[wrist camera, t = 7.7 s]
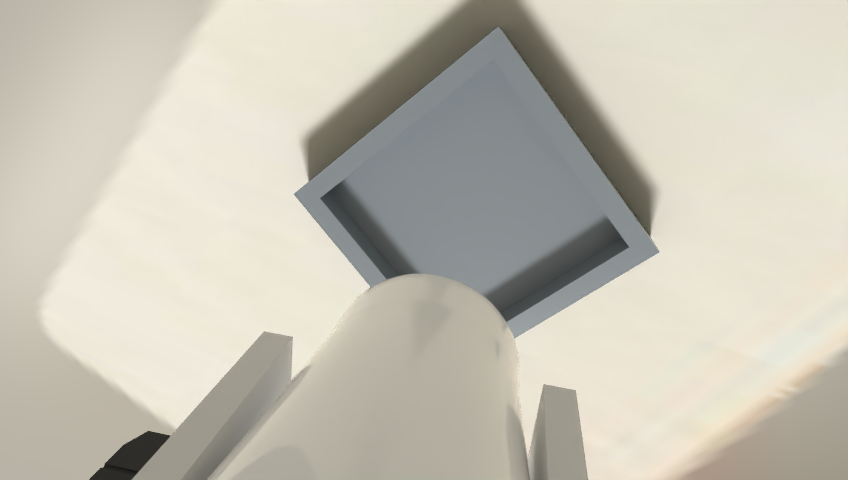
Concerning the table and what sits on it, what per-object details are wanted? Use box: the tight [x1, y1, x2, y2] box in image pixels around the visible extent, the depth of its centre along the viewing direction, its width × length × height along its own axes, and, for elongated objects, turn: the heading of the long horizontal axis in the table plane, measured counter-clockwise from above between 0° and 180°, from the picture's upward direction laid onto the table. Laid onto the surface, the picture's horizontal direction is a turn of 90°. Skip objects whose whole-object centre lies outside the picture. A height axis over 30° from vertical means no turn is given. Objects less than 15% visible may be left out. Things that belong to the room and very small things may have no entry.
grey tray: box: [294, 26, 659, 338], centre depth 30 cm, size 13×13×2 cm
